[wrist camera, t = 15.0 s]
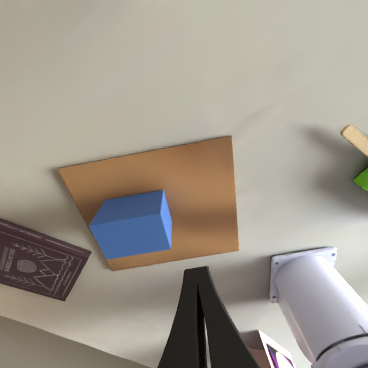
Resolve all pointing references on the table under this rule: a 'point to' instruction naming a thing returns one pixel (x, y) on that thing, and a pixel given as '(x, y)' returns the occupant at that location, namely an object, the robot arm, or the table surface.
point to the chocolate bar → (38, 261)
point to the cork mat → (168, 196)
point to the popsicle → (363, 144)
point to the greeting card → (272, 354)
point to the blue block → (133, 225)
